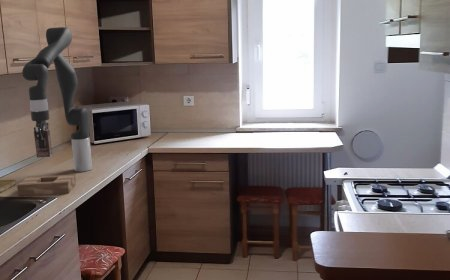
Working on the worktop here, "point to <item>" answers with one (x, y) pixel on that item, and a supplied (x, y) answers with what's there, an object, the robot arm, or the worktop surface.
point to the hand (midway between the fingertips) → (43, 147)
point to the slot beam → (46, 185)
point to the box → (47, 142)
